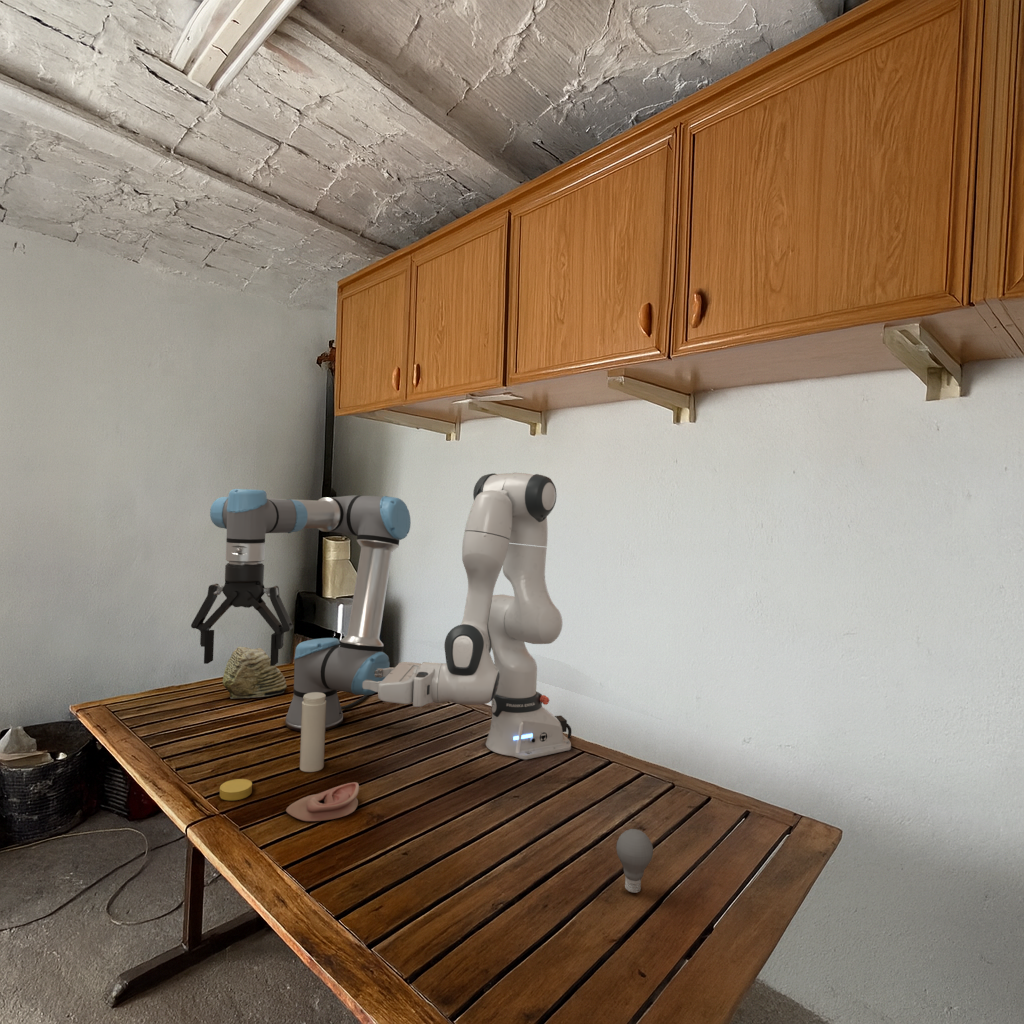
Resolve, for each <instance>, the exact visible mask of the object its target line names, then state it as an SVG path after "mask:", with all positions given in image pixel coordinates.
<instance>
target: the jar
mask: <svg viewBox="0 0 1024 1024" xmlns="http://www.w3.org/2000/svg"><path fill="white" fill-rule="evenodd" d="M325 698H326V695H325V694H324V693H320V692H312V693H307V694H305V695H304V697H303V699H304V701H303V702H302V716H301V731H300V744H299V745H300V746H299V747H300V748H299V770H300V771H301V772H303V773H315V772H319V771H321V770H323V769H324V767H325V751H326V747H325V746H326V730H325V725H326V700H325Z"/></svg>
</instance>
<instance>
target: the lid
mask: <svg viewBox="0 0 1024 1024" xmlns="http://www.w3.org/2000/svg"><path fill="white" fill-rule="evenodd" d="M252 793H253V782H252V781H251V780H249V779H247V778H235V779H231V780H227V781H225V782H223V783H222V784H221V785H220V786H219V798H220V799H221V800H224V801H230V802H231V801H238V800H239V801H240V800H244V799H246V798H248V797H249V796H250V795H251V794H252Z"/></svg>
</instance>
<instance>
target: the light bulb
mask: <svg viewBox="0 0 1024 1024" xmlns="http://www.w3.org/2000/svg"><path fill="white" fill-rule="evenodd" d="M615 849H616V854H617V857H618V859H619V861H620V863H621V865H622V867H623V873H624V874H623V875H624V876H625V878H624V888H625V890H627V891H628V892H630V893H634V894H635V893H639V892H640V891H641V889H642V887H641V886H642V879H643V877H644V875H645V871H646V868H647V867H648V866H649V864H650V863H651V861H652V859H653V855H654V847H653V843H652V841H651V838H649V836H648V835H647V834H646V833H645V832H643V831H642V830H641V829H636V828H629V829H627V830H625V831H623V832H622V833H621V834H620V835H619V837H618V839H617V841H616V847H615Z"/></svg>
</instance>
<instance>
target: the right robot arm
mask: <svg viewBox="0 0 1024 1024" xmlns="http://www.w3.org/2000/svg"><path fill="white" fill-rule="evenodd" d="M472 497H473V503H472V505H471V508H470V510H469V513H468V516H467V520H466V524H465V527H464V532H463V538H462V548H461V554H462V555H461V559H462V563H463V567H464V571H465V572H466V578H467V594H466V599H465V605H464V612H463V616H462V620H461V623H460V624H458V625H456V626H454V627H453V628H451V629H450V631H448V632H447V634H446V637H445V640H444V644H443V646H444V647H443V648H444V654H445V655H444V656H445V662H444V663H443V662H429V661H428V662H426V661H423V662H421V663H420V662H412V661H400V662H399V663H397V664H396V666H395V667H389V668H385V669H379V668H378V669H376V670H375V677H379V678H382V677H385V678H384V679H383V680H382V681H378V682H376V681H372V680H367V679H366V680H365V681H363V685H362V687H363V689H370V690H372V691H375V692H376V693H377V699H378V700H380V701H382V702H385V703H386V702H387V703H391V704H392V703H393V704H399V705H411V704H412V706H413V707H414V708H422V707H424V706H426V705H428V704H433V703H435V704H436V703H437V704H442V703H454V704H456V705H465V706H466V705H468V706H481V705H487V704H489V703H491V706H490V707H491V714H492V715H491V721H490V726H489V731H488V735H487V738H486V741H485V746H486V748H487V749H488V750H489V751H491V752H493V753H496V754H499V755H503V756H509V757H515V758H517V759H520V760H531V759H535V758H540V757H545V756H549V755H553V754H558V753H563V752H567V751H571V750H572V742H571V741H570V739H572V727H571V726H570V725H569V724H568V720H567V719H566V718H565V717H563V715H554V714H553V713H551V712H550V711H549V710H548V709H547V708H545V707H544V706H547V705H548V704H549V703H550V698H549V697H548V696H546V695H545V694H542V693H540V692H539V691H537V685H538V683H537V682H538V664H537V660H536V659H535V658H534V657H533V655H532V654H531V653H530V652H529V650H528V648H527V646H526V644H527V643H528V644H532V645H549V644H553V643H554V642H555V641H557V639H558V638H559V636H561V633H562V630H563V616H562V614H561V611H560V610H559V608H558V607H557V606H556V605H555V604H554V602H553V600H552V598H551V596H550V594H549V591H548V587H547V580H546V563H547V550H548V541H549V540H548V537H549V535H548V534H549V532H548V531H549V527H548V516H549V515H550V514H551V513H552V511H553V510H554V508H555V505H556V502H557V488H556V485H555V484H554V482H553V480H552V479H551V478H550V477H549V476H546V475H543V474H539V473H536V474H532V473H524V472H512V473H511V472H510V473H509V472H508V473H488V474H484V475H482V476H481V477H479V479H478V480H477V481H476V483H475V484H474V487H473V496H472ZM501 571H502V573H503V576H504V577H505V578H506V579H507V580H508V581H509V582H510V585H511V587H512V590H513V594H514V595H508V594H494V590H495V587H496V584H497V581H498V579H499V576H500V573H501ZM491 651H492V655H493V656H492V655H491ZM492 657H493V658H492ZM564 733H567V736H566V735H565V734H564ZM570 736H571V737H570Z"/></svg>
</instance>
